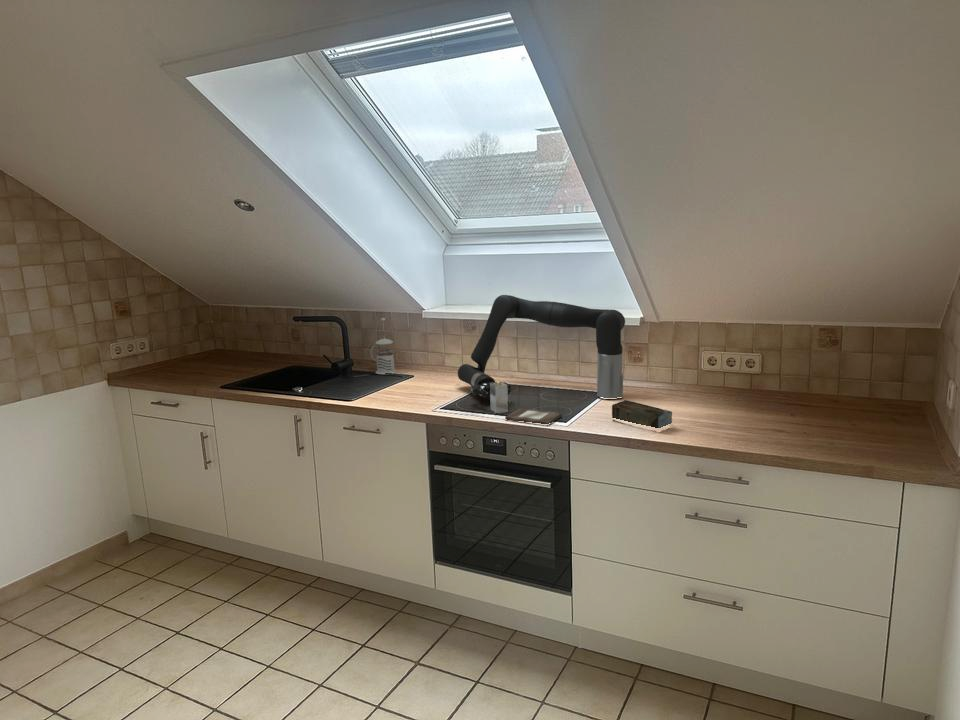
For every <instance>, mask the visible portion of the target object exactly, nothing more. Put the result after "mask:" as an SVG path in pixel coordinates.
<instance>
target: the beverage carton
mask: <svg viewBox="0 0 960 720" xmlns="http://www.w3.org/2000/svg"><path fill="white" fill-rule="evenodd" d="M672 417H673V412H672V411H671V410H667V409H663V408H660V407H655V406H652V405H648V404H644V403H640V402H635V401H632V400H627V399H625V400H623V401H619V402H616V403H613V404H612V406H611V419H612V418H616V419H620V420H624V421H628V422H632V423H636V424H641V425H646V426H651V427H655V428H661V427H663V426H666V425H668V424H671V423H672V424H673V418H672Z"/></svg>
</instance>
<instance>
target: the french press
mask: <svg viewBox="0 0 960 720" xmlns="http://www.w3.org/2000/svg"><path fill="white" fill-rule="evenodd" d="M380 321H381V322H382V324H383V325H382V327H383V330H385V325H384V324H385V323H384V321H386V318H385V317H382V318H381V319H380ZM393 343H394V341H393V340H391V339H388V338H386V337H383V338H381V339H378V340H376V341H375V345H373V346H372V347H371V348H370V350H369V351H370V353H369V354H371V355H370V358H371V359H372V360H373V361H375V362H376V371H375V374H378V375H386V374H385V373H390V372H394V371H397V370H396V369H395V358H394V355H395V354H394V353H393V352H394V350H393V349H386V346H387V345H388V346H389V345H393ZM379 345H381V346H383V347H384V349H379V350H377V351H376V353H377V355H376V358H375V357H374V355H373V353H372V351H373V349H374V348H375V349H378V346H379Z"/></svg>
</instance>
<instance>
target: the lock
mask: <svg viewBox="0 0 960 720" xmlns="http://www.w3.org/2000/svg"><path fill="white" fill-rule="evenodd" d="M503 382H504V381H495V382H493V383H490V395H489V397H490V398H489V400H490V405H489V406H490V411H492V412H493V411H494V412H493V413H495V414H496V413H498V414H505V413H506V412H507V413H508V412H509V403H508V402H509V401H508V399H509V397H508V396H509V395H508V390H507V385H506V384H505V383H503ZM507 413H506V414H507Z"/></svg>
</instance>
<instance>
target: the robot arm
mask: <svg viewBox="0 0 960 720" xmlns="http://www.w3.org/2000/svg"><path fill="white" fill-rule="evenodd" d="M507 319H526V320H530V321H531V320H532V321H535V322H538V323H540V324H544V325H548V326H551V327H552V326H553V327H559V328H591V329H595V340H596V343H595V344H596V348H597V365H596V366H597V370H596V371H597V374H596V375H597V377H596V378H597V379H596V388H597V389H596V397H597V396H599V397H604V398H617V397H624V373H623V350H624V349H623V345H622V336H621V334H622V333H621V332H622V330H623V329H624V327H625V325H626V319H625V316H624V315H623V313H622V312H621V311H619V310H616V309H605V308H604V309H601V308H600V309H599V308H588V307H584V306H579V305H576V304H575V305H574V304H569V303H565V302H559V301H558V302H557V301H549V300H548V301H547V300H543V301H542V300H539V301H537V300H536V301H535V300H528V299H523V298H520V297H516V296H515V295H510V294H509V295H508V294H502V295H501V294H500V295H499V296H497V297H495V299H494V301H493V303H492V307H491V310H490V313H489V315H488V319H487V321H486V324H485V326H484V329H483V331H482V332H481V333H482V334H481V335H480V338H479V339H478V342H477V343H476V345H475V347H474V348H473V351H472V352H471V354H470V358H471V360H472V361H473V363H476V364H477V367H475V366H473V365H471V364H467V363H465V364H462V365H460V366H459V368H458V370H457V377H458V379H459V381H461V382H464V383H466V384H467V385H470V392H471V394H472V395H473V396H475V397H476V396H477V397H478V395H479V396H481V397H483V398H488V396H490V383H493V382H496V380H495V379H494V378H493V377H491V375H489V374H487V373H485V371H486V368H487V364H488V361H489V359H490V357H491V355H492V354H493V352H494V349H495V347H496V344H497V340H498V335H499V333H500V330H501V328H503V327H502V326H503V325H504V323H505V322H506V321H507ZM502 382H503V383H505V384H506V385H507V390H508V396H509V395H510V394H511V392H512V390H511V389H512V385H511V384H509V383H507V382H505V381H502Z"/></svg>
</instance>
